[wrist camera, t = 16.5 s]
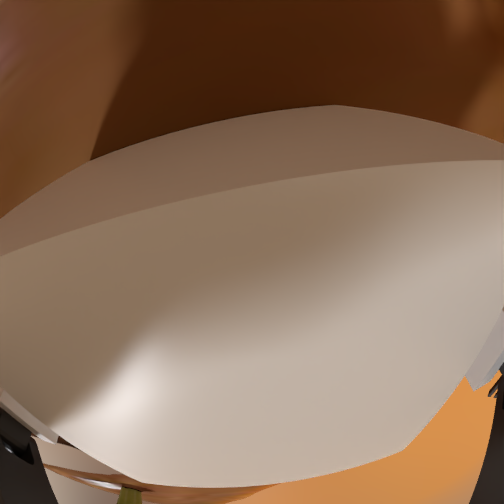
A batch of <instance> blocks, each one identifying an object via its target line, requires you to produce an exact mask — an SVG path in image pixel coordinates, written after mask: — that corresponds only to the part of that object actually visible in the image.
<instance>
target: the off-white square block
mask: <svg viewBox="0 0 504 504" xmlns="http://www.w3.org/2000/svg"><path fill="white" fill-rule="evenodd" d="M503 306H504V144H503V143H500V142H498V141H495V140H492V139H490V138H487V137H484V136H481V135H478V134H475V133H472V132H469V131H466V130H463V129H459V128H456V127H452V126H449V125H445V124H441V123H438V122H434V121H430V120H425V119H421V118H417V117H412V116H407V115H402V114H397V113H391V112H386V111H380V110H373V109H366V108H359V107H350V106H341V105H326V106H314V107H304V108H295V109H287V110H279V111H272V112H266V113H259V114H253V115H248V116H242V117H237V118H232V119H227V120H222V121H217V122H213V123H208V124H204V125H200V126H196V127H192V128H188V129H184V130H180V131H177V132H173V133H169V134H166V135H163V136H159V137H156V138H153V139H149V140H146V141H143V142H140V143H137V144H134V145H131V146H128V147H125V148H122V149H119V150H117V151H114V152H111V153H109V154H106V155H103V156H101V157H98V158H96V159H93V160H91V161H88V162H87V163H85V164H83V165H81V166H79V167H78V168H76V169H74V170H72V171H71V172H69V173H67V174H65V175H64V176H62V177H60V178H59V179H57V180H56V181H54V182H52V183H51V184H49V185H48V186H46V187H45V188H43V189H41V190H40V191H38V192H37V193H35V194H34V195H32V196H31V197H30V198H28V199H27V200H25V201H24V202H22V203H21V204H20V205H18V206H17V207H16V208H14V209H13V210H11V211H10V212H9V213H7V214H6V215H5V216H4V217H2V218H1V219H0V386H1V387H2V388H3V389H4V390H5V391H6V392H7V393H8V394H9V395H10V396H11V397H12V398H14V399H15V400H16V401H17V402H18V403H19V404H20V405H21V406H22V407H24V408H25V409H26V410H27V411H28V412H29V413H31V414H32V415H33V416H34V417H35V418H37V419H38V420H39V421H40V422H42V423H43V424H44V425H46V426H47V427H48V428H50V429H51V430H52V431H54V432H55V433H56V434H58V435H59V436H61V437H62V438H63V439H65V440H66V441H68V442H69V443H71V444H72V445H74V446H75V447H77V448H78V449H80V450H82V451H83V452H85V453H86V454H88V455H90V456H91V457H93V458H95V459H97V460H98V461H100V462H102V463H104V464H105V465H108V466H109V467H111V468H113V469H115V470H117V471H119V472H121V473H123V474H125V475H127V476H129V477H131V478H133V479H135V480H138V481H140V482H142V483H150V484H158V485H168V486H181V487H211V488H214V487H244V486H257V485H267V484H276V483H283V482H290V481H296V480H302V479H308V478H313V477H317V476H322V475H326V474H331V473H335V472H339V471H343V470H346V469H350V468H353V467H357V466H360V465H363V464H367V463H370V462H372V461H375V460H379V459H381V458H384V457H387V456H389V455H392V454H395V453H398V452H400V451H402V450H403V449H404V448H406V446H407V445H408V444H409V443H410V442H411V441H412V440H413V439H414V438H415V437H416V436H417V435H418V434H419V433H420V432H421V431H422V430H423V428H424V427H425V426H426V425H427V424H428V423H429V422H430V420H431V419H432V418H433V417H434V416H435V414H436V413H437V412H438V411H439V410H440V408H441V407H442V405H444V403H445V402H446V401H447V399H448V398H449V397H450V395H451V394H452V393H453V391H454V390H455V389H456V387H457V385H458V384H459V383H460V382H461V380H462V379H463V377H464V376H465V374H466V373H467V371H468V370H469V368H470V367H471V365H472V364H473V362H474V360H475V359H476V357H477V355H478V354H479V352H480V350H481V349H482V347H483V345H484V343H485V342H486V340H487V338H488V336H489V334H490V333H491V331H492V329H493V327H494V325H495V323H496V321H497V319H498V317H499V315H500V313H501V311H502V308H503Z"/></svg>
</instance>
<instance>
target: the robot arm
mask: <svg viewBox="0 0 504 504" xmlns="http://www.w3.org/2000/svg"><path fill="white" fill-rule="evenodd" d="M498 370H500V372H501V373H502V376H501V377H500V378H499V380H498V381H497V382H496V383H495V385H494V386H493V387H492V388H491V389H490V391H489V394H488V397H491V395H492V394H493V393H494V392H495V391H496V389H497V388H498V391H497V393H496V394H495V396H494V398H497V399H496V406H495V413H494V419H493V424H492V429H491V434H490V439H489V443H488V447H487V451H486V455H485V459H484V462H483V466H482V469H481V472H480V475H479V478H478V481H477V484H476V487H475V490H474V492H473V495H472V498H471V500H470V503H469V504H504V306H503V308H502V311H501V313H500V315H499V317H498V319H497V321H496V323H495V325H494V327H493V329H492V331H491V333H490V334H489V336H488V338H487V340H486V342H485V343H484V345H483V347H482V349H481V350H480V352H479V354H478V355H477V357H476V359H475V360H474V362H473V364H472V365H471V367H470V368H469V370H468V371H467V373H466V374H465V376H466V378H467V380H468V382H469V384H470V386H471V387H472V389H473V391H475V390H477V389H478V388H480V387H482V386H483V385H485V384H486V383H488V382H490V381H491V379H492V378H493V377H494V375H495V374H496V373H497V371H498ZM31 433H33V434H35V435H36V436H38V437H39V438H40V439H42V440H44V441H47V442H50V443H53V444H56V443H57V439H58V434H56V433H55V432H54V431H52V430H51V429H50V428H48V427H47V426H46V425H44V424H43V423H42V422H40V421H39V420H38V419H37V418H35V417H34V416H33V415H32V414H31V413H29V412H28V411H27V410H26V409H25V408H24V407H22V406H21V405H20V404H19V403H18V402H17V401H16V400H15V399H14V398H12V397H11V396H10V395H9V394H8V393H7V392H6V391H5V390H4V389H3V388H2V387H1V386H0V504H58V502H57V500H56V497H55V495H54V493H53V490H52V488H51V485H50V483H49V480H48V477H47V475H46V472H45V469H44V466H43V463H42V460H41V457H40V454H39V450H38V447H37V444H36V441H35V440H34V439H33V438H32V437H31Z"/></svg>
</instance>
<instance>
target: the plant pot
mask: <svg viewBox="0 0 504 504" xmlns="http://www.w3.org/2000/svg"><path fill="white" fill-rule="evenodd" d="M117 504H142V498H141V492H140V491H137V490H134V489H130V488H128V489H127V488H125V487H122V488H121V491H120V495H119V498H118V502H117Z"/></svg>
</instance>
